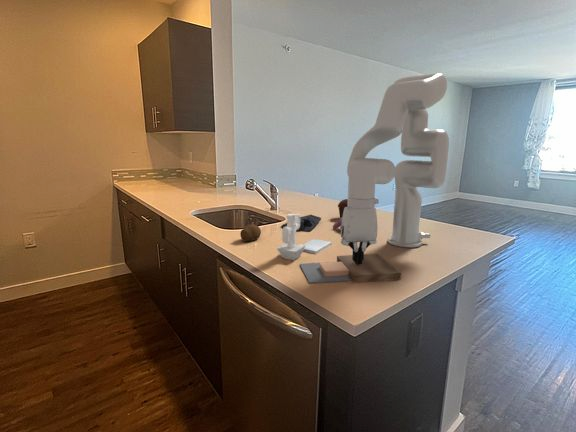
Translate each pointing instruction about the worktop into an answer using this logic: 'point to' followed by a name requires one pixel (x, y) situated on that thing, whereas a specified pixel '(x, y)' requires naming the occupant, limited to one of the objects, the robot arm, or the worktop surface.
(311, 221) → the dark slate chunk
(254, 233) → the potato
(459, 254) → the worktop surface
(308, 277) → the mat
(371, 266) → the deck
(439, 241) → the worktop surface
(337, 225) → the purple crystal rock
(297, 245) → the figurine
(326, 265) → the tile
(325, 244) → the hard drive
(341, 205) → the muffin
